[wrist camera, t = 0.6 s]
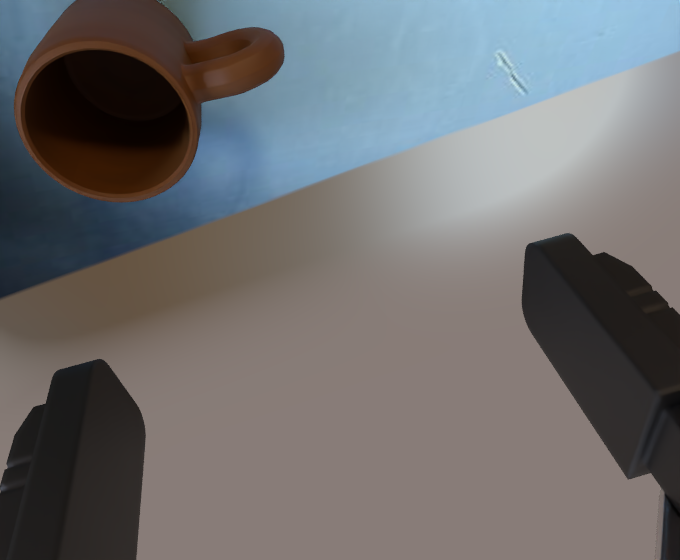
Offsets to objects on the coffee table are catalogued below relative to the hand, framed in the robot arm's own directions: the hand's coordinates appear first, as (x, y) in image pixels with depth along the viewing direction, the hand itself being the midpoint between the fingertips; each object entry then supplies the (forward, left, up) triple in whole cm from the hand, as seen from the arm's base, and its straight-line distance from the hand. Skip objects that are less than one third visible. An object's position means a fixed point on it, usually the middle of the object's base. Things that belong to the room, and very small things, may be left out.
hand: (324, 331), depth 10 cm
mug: (+1, -5, -26) cm, 26 cm away
